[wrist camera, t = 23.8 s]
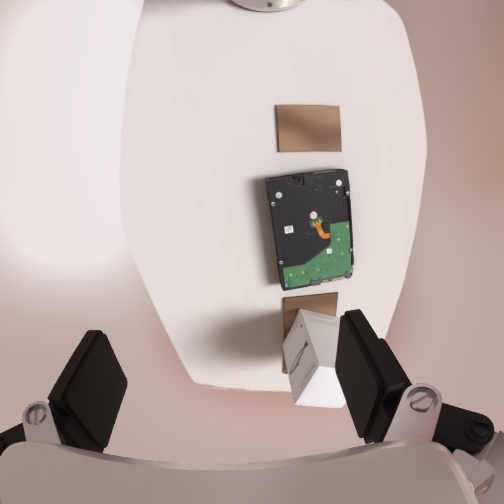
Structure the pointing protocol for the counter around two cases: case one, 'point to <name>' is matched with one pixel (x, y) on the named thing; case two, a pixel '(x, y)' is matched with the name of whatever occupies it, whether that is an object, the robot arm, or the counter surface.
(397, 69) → the counter surface
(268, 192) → the disk drive
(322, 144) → the flat brown wooden pieces
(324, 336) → the supplement box
